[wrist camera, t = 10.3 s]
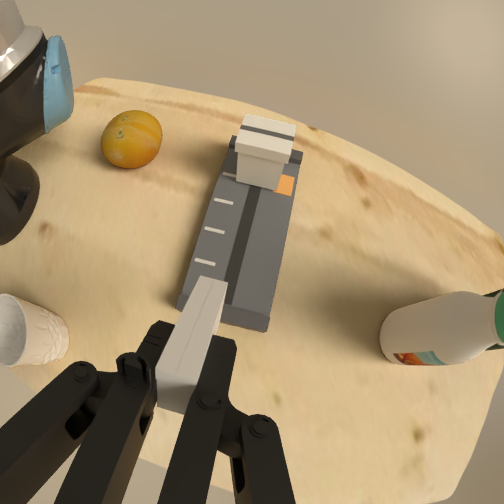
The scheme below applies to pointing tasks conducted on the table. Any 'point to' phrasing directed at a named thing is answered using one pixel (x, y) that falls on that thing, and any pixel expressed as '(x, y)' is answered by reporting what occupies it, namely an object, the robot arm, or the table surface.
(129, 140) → the fruit
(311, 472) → the table surface
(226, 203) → the slider console
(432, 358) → the milk bottle
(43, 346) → the white cup
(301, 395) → the table surface
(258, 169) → the fader knob
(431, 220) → the table surface
